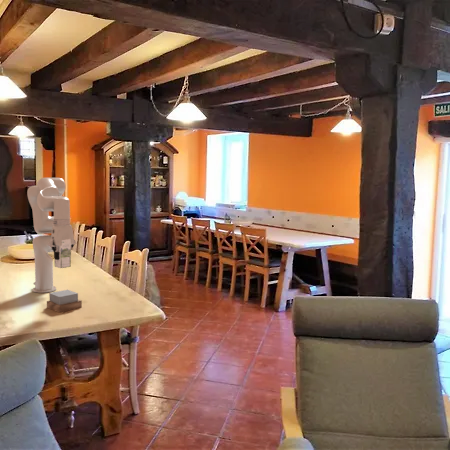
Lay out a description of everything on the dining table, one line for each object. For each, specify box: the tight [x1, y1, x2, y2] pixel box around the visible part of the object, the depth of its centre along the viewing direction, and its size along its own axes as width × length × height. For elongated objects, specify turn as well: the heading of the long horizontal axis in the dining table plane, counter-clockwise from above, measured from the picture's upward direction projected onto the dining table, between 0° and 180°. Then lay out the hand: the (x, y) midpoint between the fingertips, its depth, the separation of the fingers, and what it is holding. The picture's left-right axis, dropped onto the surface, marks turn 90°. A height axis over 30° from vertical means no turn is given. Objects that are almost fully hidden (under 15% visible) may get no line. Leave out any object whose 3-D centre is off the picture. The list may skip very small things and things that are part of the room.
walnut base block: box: [46, 299, 83, 314], centre depth 237 cm, size 12×12×4 cm
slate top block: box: [48, 289, 79, 305], centre depth 236 cm, size 10×10×4 cm
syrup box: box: [54, 239, 72, 269], centre depth 233 cm, size 6×6×14 cm
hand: (62, 258), depth 234 cm, fingers closed on syrup box, 5 cm apart
